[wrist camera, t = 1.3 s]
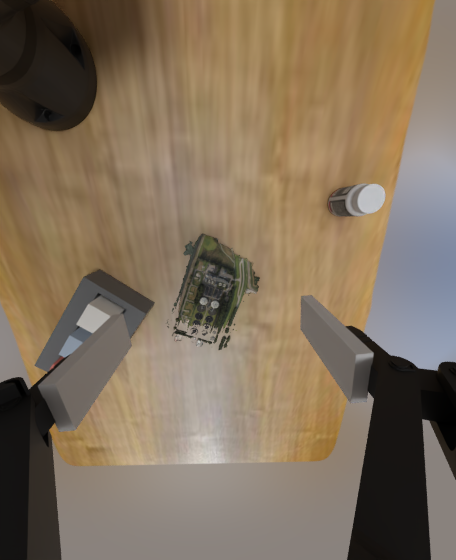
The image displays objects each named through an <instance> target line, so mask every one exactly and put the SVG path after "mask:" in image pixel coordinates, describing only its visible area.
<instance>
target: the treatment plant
mask: <svg viewBox="0 0 456 560" xmlns="http://www.w3.org/2000/svg"><path fill="white" fill-rule="evenodd" d="M191 244H192V242H191V241H190V243H189V244H188V245H186V246H185V247H186V251H185V252H184V255H187V254H190V255H191V254H192V255H191V256H190V260H189V265H188V266H186V267H187V270H186V272H187V273H186V275H185V276H184V278H183V284H181V285H182V287H181V290H180V292H179V293H181V294H179V297H180V296H181V299H180V304H179V310H178V312H179V316H178V318H176V322H177V321H179V322H180V320H182V323H183V324H184V325H185V321H188V319H189V323H188V328H189V325H190V326H193V325H194V323H195V322H196V323H195V325H198V324H199V325H200V324H201V326H202V325H203V326H204V325H205V324H206V326H205V327H206V328H205V329H207V328H209V327H208V326H209V325H210V326H212V328H213V325H215V326H214V328H215V329H217V327H218V333H217V336H216V338H214V337H211V339H210V340H214V339H215V340H214V342H213V343H215V342H216V341H217V337H218V334H219V332H220V330H221V328H222V326H223V324H224V327H223V328H225V326H226V324H227V323H228V320H230V321H229V324H228V326H231V324H232V321H233V319H234V317H235V314H236V312H237V309H238V307H239V305H240V303H241V300H242V297H243V295H244V292H245V293H247V294H250V293H255V294H256V293H257V291H258V288H259V286H256V285H257V281H259V279H260V278H259V277H255V276H254V274H255V272H254V271H253V269H252V266H253V263H251V262H249V261H247V258H246V259H245V260H244V259H243V258H240V255H239V256H237V255H235V254H234V253H233V249H232V248H231V249H230V250H229V249H228V247H226V246H224V245H222V244H219V243H218V239H217V238H213V237H210V236H207V235H205V234H201V236H200V237H199V238H198V240H197V241H196V243H195V245H194V247H192V246H191ZM245 290H246V291H245ZM181 291H182V292H181ZM249 292H250V293H249ZM179 297H178V298H177V300H176V301H177V303H178V300H179ZM243 302H244V301H243ZM177 303H174V306H177ZM175 309H176V308H175ZM173 311H174V308H173V309H172V312H173ZM173 313H174V312H173ZM198 313H199V314H198ZM208 317H210V318H211V319H210V318H208ZM230 318H231V319H230ZM199 319H200V320H199ZM207 319H208V320H207ZM208 321H209V322H208ZM179 322H178V325H179ZM167 323H168V321H167ZM186 323H187V322H186ZM207 324H208V326H207ZM168 325H169V324H168ZM176 325H177V324H176ZM176 325H175V326H176ZM234 325H235V324H234ZM195 327H196V326H195ZM197 327H198V326H197ZM168 328H169V327H168ZM212 328H211V331H212ZM174 329H176V327H174ZM192 329H195V330H197V329H196V328H194V327H193V328H192ZM176 330H177V329H176ZM195 330H194V332H193V333H195V332H196V331H195ZM233 330H234V329H233ZM180 331H181V330H180ZM223 331H224V330H223ZM236 331H237V330H236ZM206 332H207V331H206ZM228 332H229V327H228V328H226V330H225V333H228ZM174 333H176V334H177V336H175V339H174V341H177V340H179V341H181V339H184V338H182V336H183V335H184V336H187V337H189V338H192V337H193V336H189V335H186V333H187V332H186V333H184V331H181V332H179V330H177V331H175V332H174ZM174 333H173V334H174ZM193 333H192V334H193ZM197 333H198V330H197ZM197 333H196V334H197ZM210 333H211V332H210ZM213 333H214V334H216V331H213ZM192 334H191V335H192ZM206 334H208V333H204V334H203V335H204V336H205V335H206ZM172 336H173V335H172ZM194 339H196V337H194ZM225 339H226V337H225V336H224V337H223V339H222V341H221V343H220V345H219V350H221V349H222V346H223V343H224V342H225ZM226 340H227V341H226V343H225V345H224V348H225V347H226V346H227V342H228V341H229V340H230V336H228V338H227V339H226ZM200 342H201V339H200V338H198V341H197V344H196V346H199V345H200ZM203 342H206V343H207V341H206V340H203V339H202V343H201V346H202V345H203ZM192 343H193V342H192ZM208 343H209V344H210V343H211V344H212V342H211V341H208Z"/></svg>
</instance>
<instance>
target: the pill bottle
mask: <svg viewBox="0 0 456 560" xmlns="http://www.w3.org/2000/svg"><path fill="white" fill-rule="evenodd" d="M384 201H385V191H384V189H383V188H382V187H381V186H380V185H378V184H358V185H354V186H350V187H345V188H341V189H338V190H336V191H335V192H333V194H332V195H331V196H330V198H329V201H328V208H329V210H330V212H331V213H332V214H334V215H336V216H363V215H366V214H370V213H374V212H376V211H377V210H379V209H380V208H381V206H382V205H383V203H384Z"/></svg>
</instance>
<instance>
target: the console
mask: <svg viewBox="0 0 456 560" xmlns="http://www.w3.org/2000/svg"><path fill="white" fill-rule="evenodd" d="M101 295H103V296H105V297H106V298H108V299H110V300H112V301H113V302H115V303H117V304H118V305H120V306H122V307H123V308H125V309H124V311H123V313H122V314H123V315H124V319H125V322H126V326H127V330H128V333H129V337H130V339H131V337H132V336H133V334H134V333H135V331H136V330H137V328H138V327H139V325H140V324H141V322H142V321H143V319H144V318H145V316H146V315H147V313H148V312H149V311H150V309H151V308H152V306H153V305H154V302H152V301H151V300H149V299H148V298H146V297H144V296H143V295H141V294H139V293H138V292H136V291H134V290H133V289H131V288H130V287H128V286H126V285H125V284H123V283H121V282H120V281H118V280H116V279H115V278H113V277H111V276H110V275H108V274H107V273H105V272H103V271H102V270H98V271H96V272H93V273H91V274H89V275H87V276H85V277H83V279H82V281H81V283H80V284H79V286H78V288H77V290H76V292H75V293H74V295H73V297H72V299H71V301H70V302H69V304H68V306H67V308H66V310H65V311H64V313H63V315H62V317H61V319H60V320H59V322H58V324H57V326H56V328H55V329H54V331H53V333H52V335H51V337H50V338H49V340H48V342H47V344H46V346H45V347H44V349H43V351H42V353H41V355H40V356H39V358H38V360H37V362H36V364H35V365H34V366H36V367H38V368H40V369H43V370H45V371H47V372H48V371H49V370H50V368H51V366H52V365H53V364H54V363H55V362H56V361H57V360H58V359H59V358H60V357H61V355H59V353H60V351H61V349H62V348H63V346H64V344H65V342H66V341H67V339H68V337H69V336H70V335H71V334H72V333H73V332H75V331H76V330H77V329H78V328H80V326H78V325H76V324H77V322H78V321H79V319H80V317H81V316H82V314H83V312H84V310H85V309H86V307H87V305H88V304H89V303H90V302H92V301H93V300H95V299H96V298H98V297H99V296H101Z"/></svg>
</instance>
